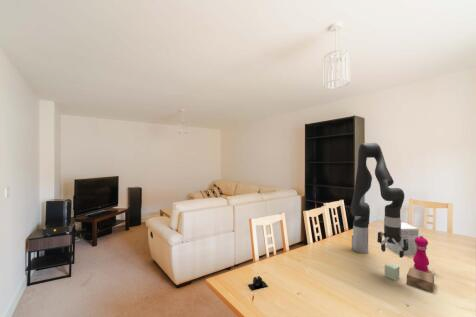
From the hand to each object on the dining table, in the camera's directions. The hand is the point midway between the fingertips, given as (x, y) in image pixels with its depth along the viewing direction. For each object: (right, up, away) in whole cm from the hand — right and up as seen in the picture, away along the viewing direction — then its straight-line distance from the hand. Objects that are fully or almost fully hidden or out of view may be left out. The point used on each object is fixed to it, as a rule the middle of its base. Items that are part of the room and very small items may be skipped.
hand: (392, 254), depth 121 cm
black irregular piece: (-74, -14, -7) cm, 76 cm away
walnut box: (+10, -13, -6) cm, 18 cm away
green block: (0, -13, +1) cm, 13 cm away
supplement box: (+29, -11, +32) cm, 45 cm away
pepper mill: (+22, -12, +8) cm, 27 cm away
